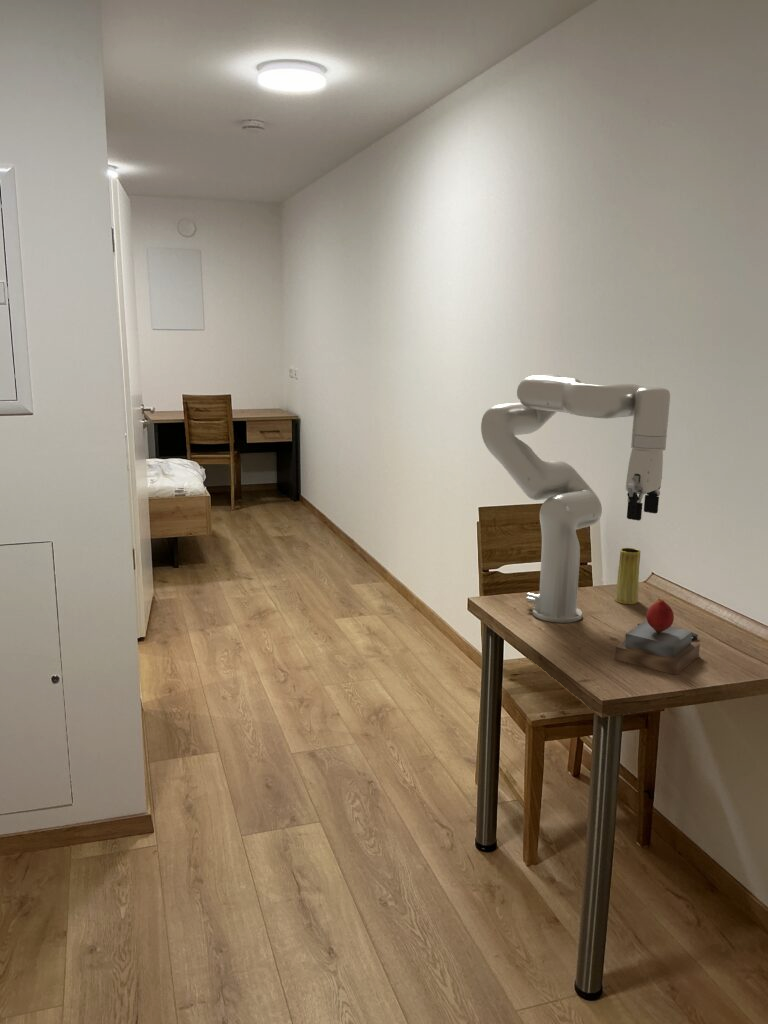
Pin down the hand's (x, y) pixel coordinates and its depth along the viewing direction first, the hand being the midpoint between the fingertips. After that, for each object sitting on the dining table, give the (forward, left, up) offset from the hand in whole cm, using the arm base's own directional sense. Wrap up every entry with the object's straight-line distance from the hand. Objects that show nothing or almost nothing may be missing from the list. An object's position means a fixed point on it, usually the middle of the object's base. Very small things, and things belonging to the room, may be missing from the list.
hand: (642, 515), depth 202 cm
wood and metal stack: (+9, -8, -30) cm, 32 cm away
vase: (-13, +27, -30) cm, 43 cm away
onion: (+9, -8, -24) cm, 27 cm away
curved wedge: (+6, +9, -31) cm, 33 cm away
